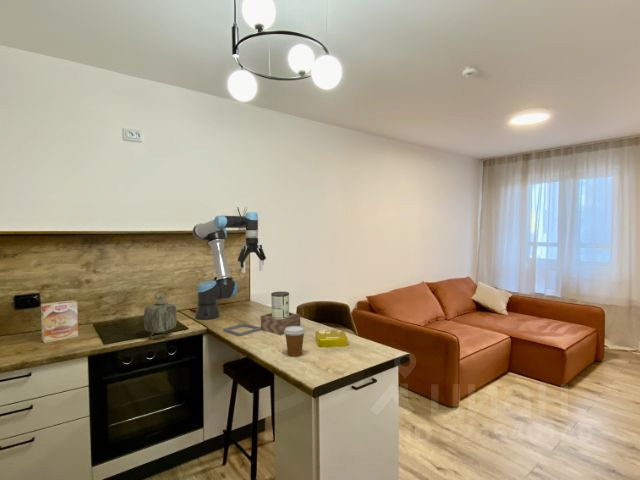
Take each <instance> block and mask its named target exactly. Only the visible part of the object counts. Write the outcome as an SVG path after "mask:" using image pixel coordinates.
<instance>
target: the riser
mask: <svg viewBox="0 0 640 480" xmlns="http://www.w3.org/2000/svg"><path fill="white" fill-rule="evenodd" d="M290 326H301V314H298V313H295V312H290V311H289V317H288V318H284V319H275V318H272V312H271V313H270V312H269V313H266V314H263V315H260V328H261V330H260V331H264V332H268V333H271V334H274V335H277V336H278V335H279V336H282V335H285V333H284V331H285V328H287V327H290Z"/></svg>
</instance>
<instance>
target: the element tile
mask: <svg viewBox="0 0 640 480" xmlns="http://www.w3.org/2000/svg"><path fill="white" fill-rule="evenodd" d="M314 334H315V339H314V340H315V342H316V346H317V347H318V348H342V347H347V346H348V336H347V335H346V333H345V332H344V330H343V329H341V330H340V329H339V330H336V329H335V330H317V331H315V333H314Z"/></svg>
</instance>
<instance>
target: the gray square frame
mask: <svg viewBox="0 0 640 480" xmlns="http://www.w3.org/2000/svg"><path fill="white" fill-rule="evenodd" d="M243 327H245V328H249V330H244V331H242V332H238V331H235V330H236V329H240V328H243ZM222 330H223V332H224V333H227V334H231V335H234V336H237V337H242V336H246V335H249V334H254V333H256V332H260V331H262V330H261V326H260V327H259V326H257V325H252V324H250V323H246V322H245V323H241V324H236V325H233V326H229V327H224V328H223V329H222Z"/></svg>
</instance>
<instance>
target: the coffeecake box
mask: <svg viewBox="0 0 640 480" xmlns="http://www.w3.org/2000/svg"><path fill="white" fill-rule="evenodd" d="M40 310H41V312H40V313H41V314H40V315H41V316H40V318H41V321H40V322H41V341H42V343H44V344H46V343H53V342H57V341H63V340H68V339H69V340H70V339H73V338H74V339H75V338H78V337H79V321H78V320H79V318H78V317H79V315H78V312H79V311H78V301H77V300H75V299H74V300H73V299H72V300H63V301H57V302H48V303H40Z"/></svg>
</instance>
